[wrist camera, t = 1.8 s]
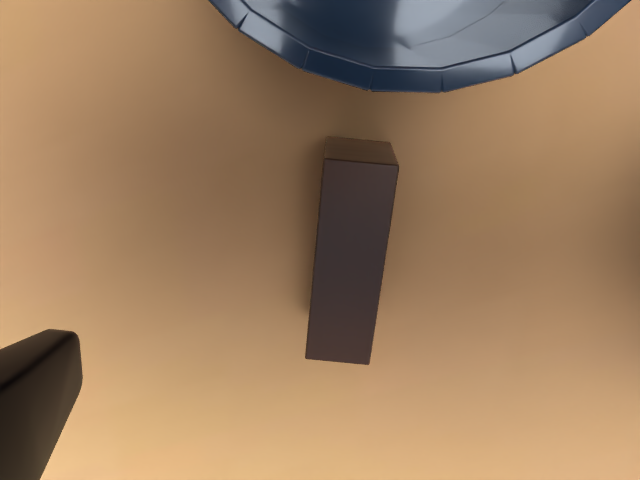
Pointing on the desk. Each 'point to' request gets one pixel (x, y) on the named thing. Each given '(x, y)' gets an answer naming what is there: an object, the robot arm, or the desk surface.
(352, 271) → the dark rectangular block
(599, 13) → the dark grey round bowl
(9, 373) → the robot arm
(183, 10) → the desk surface
